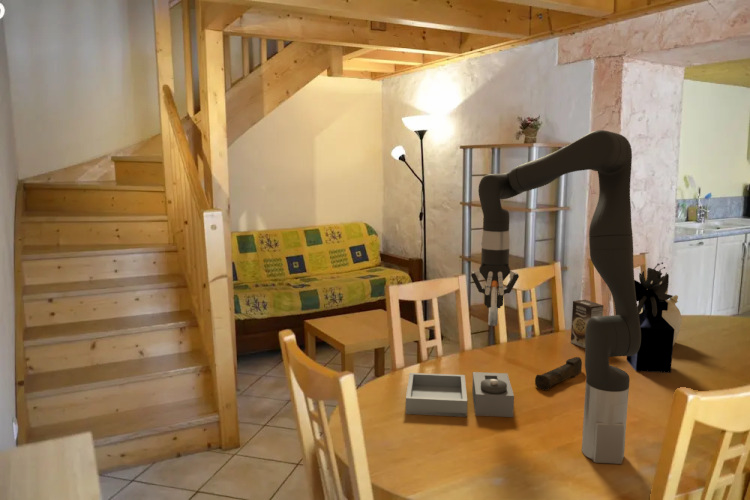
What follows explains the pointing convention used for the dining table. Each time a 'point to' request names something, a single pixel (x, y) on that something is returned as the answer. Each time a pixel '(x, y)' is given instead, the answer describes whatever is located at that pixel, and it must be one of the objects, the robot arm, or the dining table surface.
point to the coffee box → (583, 319)
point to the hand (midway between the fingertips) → (493, 307)
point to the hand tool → (559, 374)
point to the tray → (436, 395)
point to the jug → (672, 315)
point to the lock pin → (493, 303)
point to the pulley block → (492, 394)
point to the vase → (653, 324)
